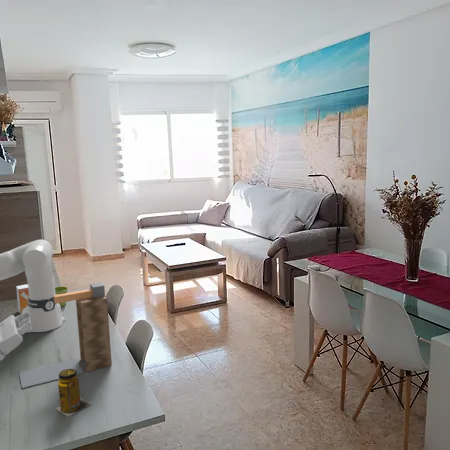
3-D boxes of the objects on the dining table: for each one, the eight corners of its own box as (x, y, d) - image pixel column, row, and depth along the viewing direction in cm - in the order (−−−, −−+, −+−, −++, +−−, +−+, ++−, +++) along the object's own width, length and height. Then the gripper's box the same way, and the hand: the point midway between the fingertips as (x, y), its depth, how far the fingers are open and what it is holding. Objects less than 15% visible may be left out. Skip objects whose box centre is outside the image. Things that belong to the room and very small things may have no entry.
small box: (20, 314, 216) (17, 289, 214) (18, 310, 221) (15, 285, 219) (38, 311, 221) (35, 286, 218) (35, 307, 226) (33, 282, 224)
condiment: (55, 408, 138) (51, 373, 136) (79, 396, 144) (76, 362, 142) (67, 417, 133) (64, 380, 131) (92, 404, 140) (89, 369, 137)
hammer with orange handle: (56, 304, 154) (54, 293, 154) (53, 300, 159) (52, 289, 158) (104, 296, 162) (104, 285, 162) (101, 292, 167) (100, 282, 166)
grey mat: (22, 388, 149) (21, 387, 149) (19, 373, 160) (18, 372, 160) (82, 373, 159) (82, 372, 159) (76, 359, 169) (76, 358, 169)
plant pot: (51, 309, 222) (49, 293, 220) (48, 304, 230) (47, 288, 229) (70, 306, 226) (69, 290, 225) (67, 301, 234) (66, 285, 233)
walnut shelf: (86, 371, 160) (81, 303, 155) (80, 359, 170) (75, 294, 165) (111, 365, 164) (107, 298, 160) (104, 353, 174) (99, 290, 169)
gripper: (-2, 339, 159) (32, 314, 163) (0, 363, 141) (39, 334, 145) (-14, 327, 156) (21, 302, 161) (-13, 349, 139) (26, 320, 143)
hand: (29, 317), depth 153 cm, fingers open, 8 cm apart
